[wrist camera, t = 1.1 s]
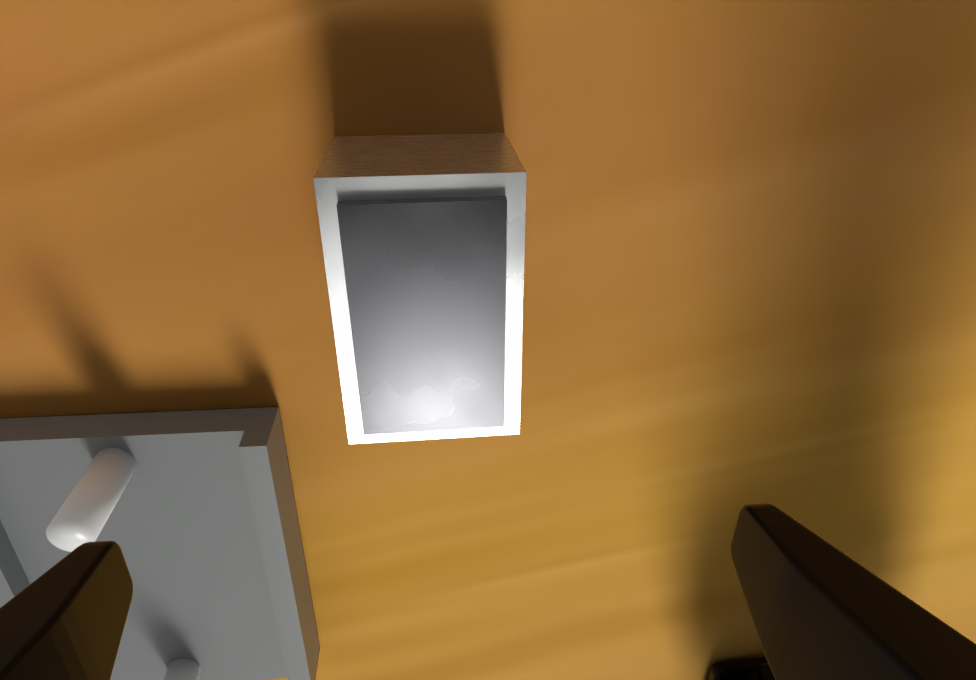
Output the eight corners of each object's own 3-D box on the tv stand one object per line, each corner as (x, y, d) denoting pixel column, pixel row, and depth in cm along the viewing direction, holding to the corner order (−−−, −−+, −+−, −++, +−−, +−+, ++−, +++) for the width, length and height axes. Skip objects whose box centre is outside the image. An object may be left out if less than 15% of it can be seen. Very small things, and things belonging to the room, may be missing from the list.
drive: (501, 354, 21) (521, 440, 17) (360, 361, 21) (348, 451, 17) (503, 131, 18) (528, 175, 14) (335, 135, 17) (311, 182, 13)
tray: (319, 648, 27) (304, 753, 23) (73, 666, 26) (18, 779, 22) (278, 406, 21) (249, 497, 17) (-41, 420, 20) (-141, 518, 17)
